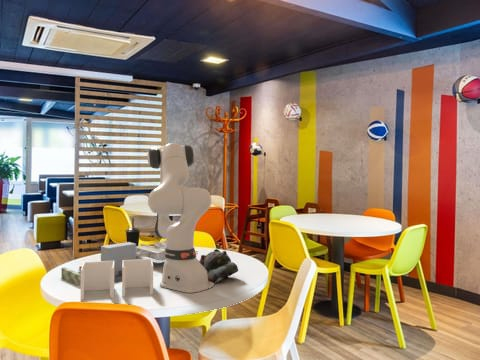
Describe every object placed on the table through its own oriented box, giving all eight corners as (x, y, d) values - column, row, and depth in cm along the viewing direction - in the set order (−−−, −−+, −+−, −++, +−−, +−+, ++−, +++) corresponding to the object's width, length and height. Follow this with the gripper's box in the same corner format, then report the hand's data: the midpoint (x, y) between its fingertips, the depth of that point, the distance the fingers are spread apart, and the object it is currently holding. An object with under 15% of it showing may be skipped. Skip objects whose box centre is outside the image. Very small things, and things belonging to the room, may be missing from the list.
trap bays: (130, 278, 163) (130, 275, 163) (111, 283, 157) (111, 279, 157) (98, 266, 182) (98, 263, 182) (79, 270, 176) (79, 266, 176)
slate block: (135, 269, 178) (136, 243, 177) (107, 275, 168) (107, 248, 167) (128, 267, 182) (129, 242, 182) (100, 273, 172) (100, 246, 171)
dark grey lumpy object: (209, 285, 155) (196, 253, 159) (204, 289, 166) (193, 258, 170) (242, 272, 160) (230, 240, 164) (236, 276, 171) (224, 246, 175)
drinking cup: (137, 257, 201) (138, 219, 200) (123, 257, 201) (123, 219, 201) (141, 254, 209) (142, 217, 208) (127, 254, 209) (128, 217, 208)
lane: (138, 272, 173) (138, 263, 173) (78, 285, 153) (78, 275, 153) (119, 266, 184) (119, 257, 184) (61, 277, 164) (61, 267, 164)
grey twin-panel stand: (151, 286, 154) (151, 258, 154) (153, 295, 144) (153, 265, 144) (83, 290, 147) (83, 262, 147) (80, 300, 137) (80, 269, 137)
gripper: (149, 241, 199) (125, 244, 188) (174, 247, 185) (149, 251, 175) (149, 253, 199) (125, 257, 189) (174, 260, 185) (149, 265, 175)
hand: (137, 254), depth 181 cm, fingers closed
